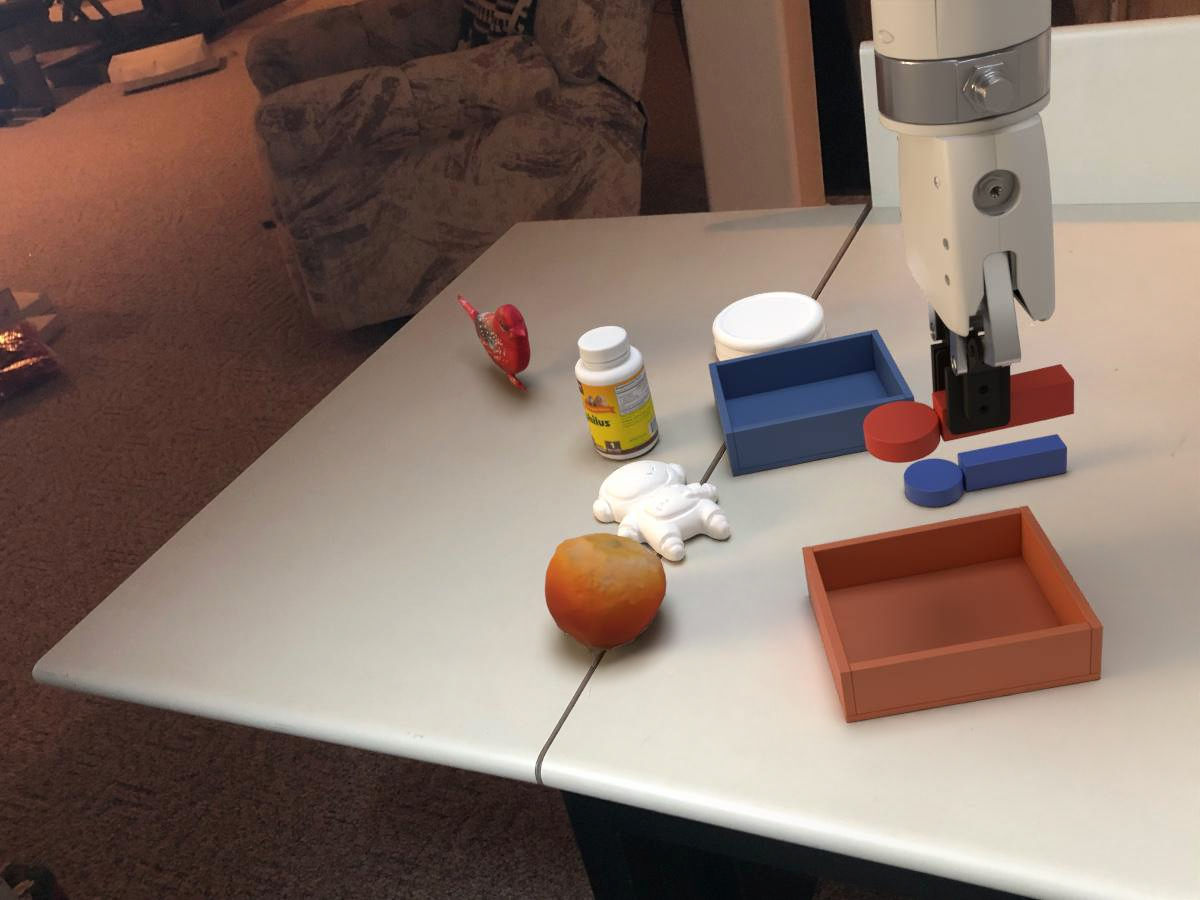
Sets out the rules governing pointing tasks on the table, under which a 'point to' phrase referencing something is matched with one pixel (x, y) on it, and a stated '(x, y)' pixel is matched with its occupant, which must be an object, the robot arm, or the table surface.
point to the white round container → (767, 324)
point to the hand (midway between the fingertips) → (971, 413)
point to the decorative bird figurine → (503, 338)
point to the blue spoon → (984, 469)
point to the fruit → (604, 590)
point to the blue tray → (803, 400)
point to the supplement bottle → (615, 394)
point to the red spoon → (918, 427)
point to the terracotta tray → (949, 614)
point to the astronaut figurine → (660, 507)
